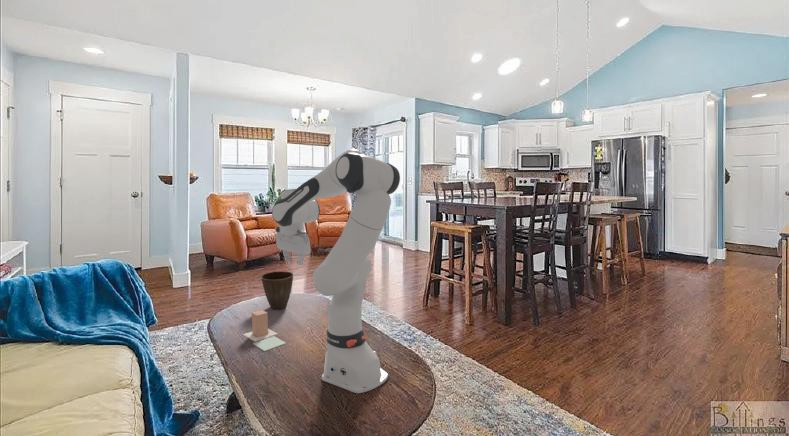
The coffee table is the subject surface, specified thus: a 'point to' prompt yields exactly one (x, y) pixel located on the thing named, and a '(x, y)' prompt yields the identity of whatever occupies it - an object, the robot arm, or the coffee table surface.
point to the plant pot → (277, 288)
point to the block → (259, 323)
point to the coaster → (269, 343)
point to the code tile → (255, 338)
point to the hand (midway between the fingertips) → (293, 262)
